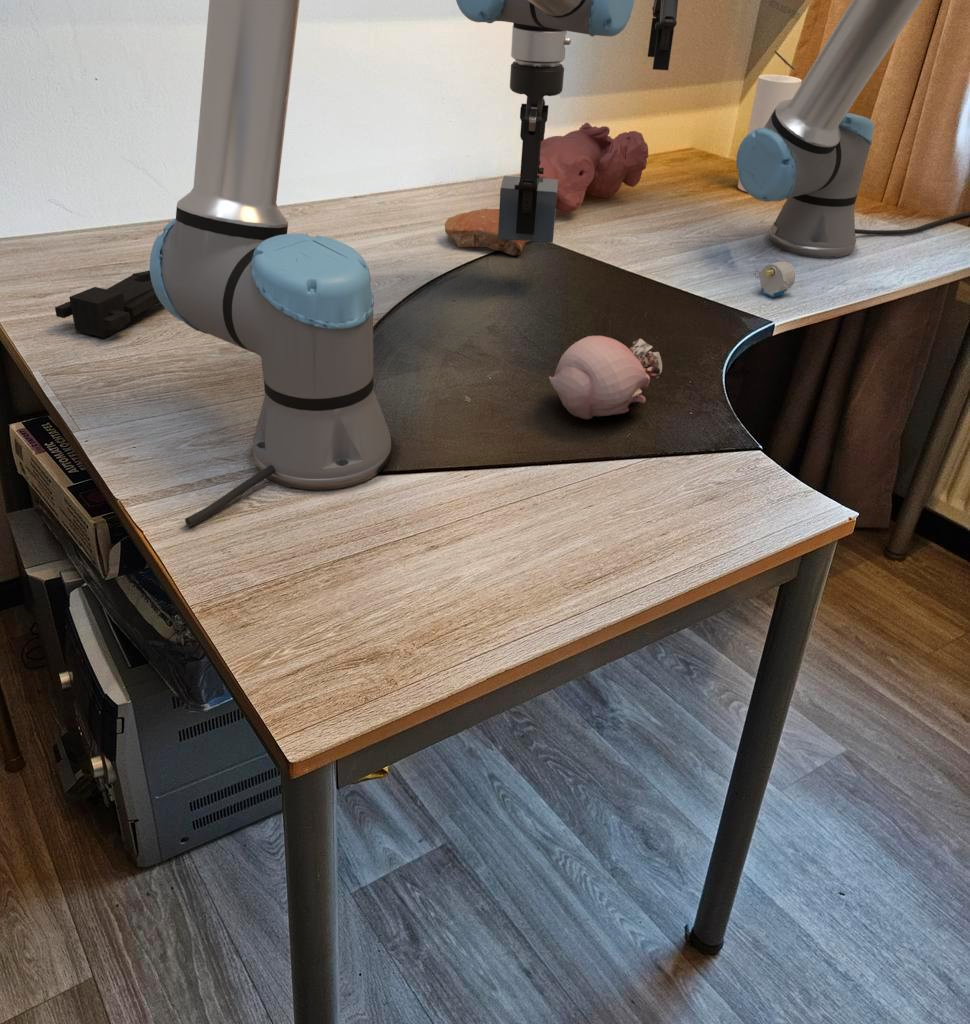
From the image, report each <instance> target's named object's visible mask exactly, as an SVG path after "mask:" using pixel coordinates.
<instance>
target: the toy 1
mask: <svg viewBox="0 0 970 1024" xmlns="http://www.w3.org/2000/svg"><path fill="white" fill-rule="evenodd" d="M68 298H69V301H67V302H65V303H62V304H59V305H57V306H55V307H54V310H55V315H56V317H57V318H61V319H66V318H68V317H70V316H72V320H73V325H74V330H75V332H79V333H83V334H87V335H91V336H95V337H98V338H105V337H108V336H110V335H112V334H114V333H116V332H119V331H121V330H123V329H125V328H128V325H129V323H131V322H132V320H131V317H135V316H137V315H139V314H140V313H141V312H143V311H145V310H147V309H149V308H153V307H154V306H156V305H159V304H161V302H160V301H159V299H158V297H157V295H156V293H155V291H154V288H153V285H152V281H151V276H150V269H149V270H145V271H140V272H134V273H132V274H131V275H129V276H128V277H126V278H124V279H122V280H121V281H119V282H117V283H115V284H113V285H111V286H109V287H108V288H102V287H99V286H93V287H91V288H87V289H86V290H83V291H80V292H78V293H76V294H72V295H71V296H69V297H68Z"/></svg>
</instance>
